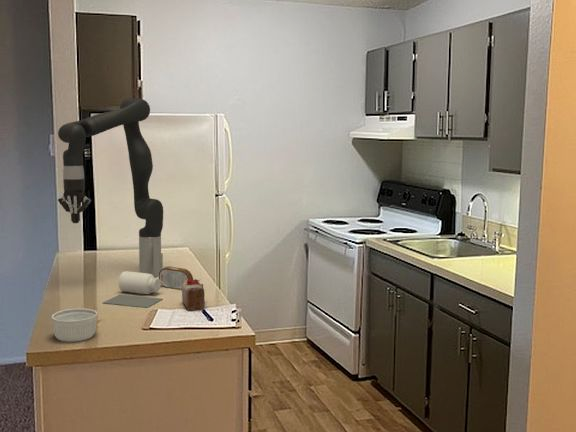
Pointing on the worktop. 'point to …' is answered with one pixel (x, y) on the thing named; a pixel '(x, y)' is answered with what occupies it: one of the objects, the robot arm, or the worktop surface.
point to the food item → (193, 295)
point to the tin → (174, 277)
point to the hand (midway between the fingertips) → (75, 222)
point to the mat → (133, 301)
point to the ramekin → (74, 324)
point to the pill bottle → (138, 283)
